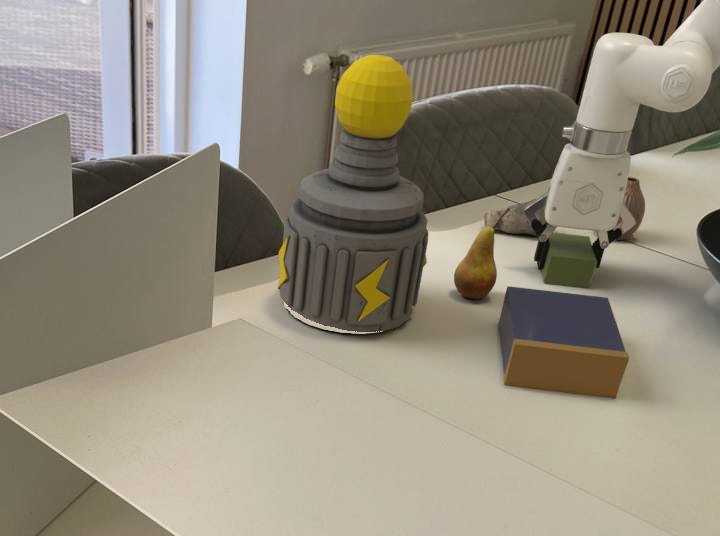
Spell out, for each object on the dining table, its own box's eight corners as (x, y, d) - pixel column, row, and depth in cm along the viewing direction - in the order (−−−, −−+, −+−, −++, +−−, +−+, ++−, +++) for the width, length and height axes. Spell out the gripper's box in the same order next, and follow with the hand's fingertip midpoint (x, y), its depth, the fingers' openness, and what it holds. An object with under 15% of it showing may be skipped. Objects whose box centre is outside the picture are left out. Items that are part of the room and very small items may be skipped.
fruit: (458, 285, 142) (476, 197, 134) (496, 295, 140) (517, 207, 132) (444, 297, 138) (462, 208, 130) (483, 308, 136) (504, 218, 129)
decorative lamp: (295, 341, 125) (322, 74, 105) (262, 281, 139) (280, 35, 119) (435, 335, 129) (487, 76, 109) (390, 278, 142) (428, 38, 123)
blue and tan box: (597, 335, 132) (609, 296, 129) (615, 398, 119) (629, 357, 115) (497, 323, 133) (506, 285, 130) (504, 384, 120) (514, 344, 116)
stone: (477, 237, 160) (510, 216, 152) (478, 204, 160) (511, 181, 153) (526, 251, 164) (561, 231, 156) (527, 219, 164) (561, 197, 157)
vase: (586, 236, 160) (602, 178, 155) (601, 225, 165) (617, 169, 159) (628, 247, 158) (646, 189, 152) (641, 235, 162) (659, 179, 156)
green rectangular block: (582, 263, 151) (589, 236, 149) (589, 288, 144) (597, 260, 141) (538, 258, 152) (545, 231, 149) (543, 283, 144) (551, 255, 142)
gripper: (538, 140, 134) (507, 272, 145) (669, 153, 132) (627, 285, 144) (534, 125, 139) (504, 253, 151) (660, 138, 138) (620, 266, 150)
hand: (564, 268), depth 147 cm, fingers closed on green rectangular block, 6 cm apart
